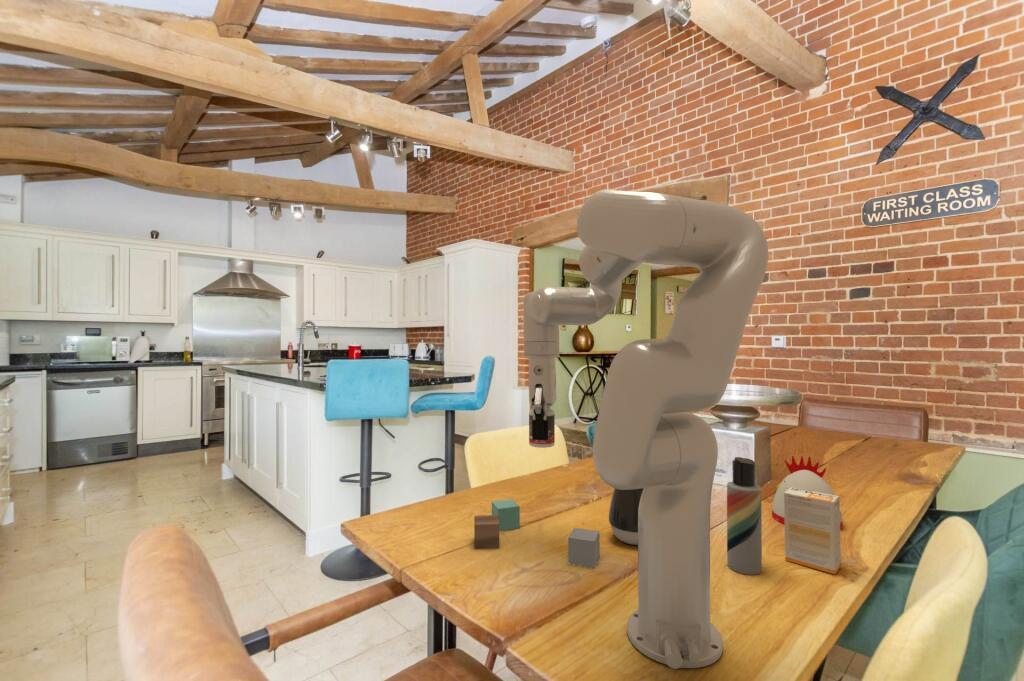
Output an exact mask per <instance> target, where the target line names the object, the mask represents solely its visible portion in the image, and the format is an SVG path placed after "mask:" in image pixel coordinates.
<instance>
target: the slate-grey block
mask: <svg viewBox="0 0 1024 681" xmlns="http://www.w3.org/2000/svg"><path fill="white" fill-rule="evenodd" d="M567 537H568V538H567V564H568V563H570V564H569V565H572V564H575V565H574V566H578V565H581V566H580V567H584V566H586V568H590V567H591V568H592V569H596V566H597V564H598V561H599V560H600V549H601V548H600V530H594V529H585V528H579V527H573V529H572V530H571V532H570V533H569V535H568V536H567Z"/></svg>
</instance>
